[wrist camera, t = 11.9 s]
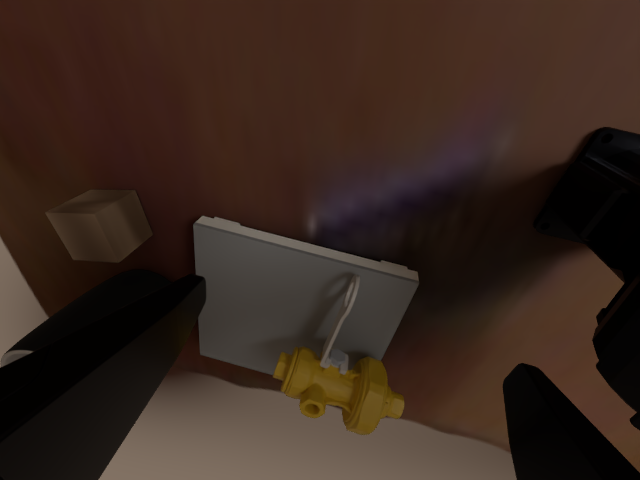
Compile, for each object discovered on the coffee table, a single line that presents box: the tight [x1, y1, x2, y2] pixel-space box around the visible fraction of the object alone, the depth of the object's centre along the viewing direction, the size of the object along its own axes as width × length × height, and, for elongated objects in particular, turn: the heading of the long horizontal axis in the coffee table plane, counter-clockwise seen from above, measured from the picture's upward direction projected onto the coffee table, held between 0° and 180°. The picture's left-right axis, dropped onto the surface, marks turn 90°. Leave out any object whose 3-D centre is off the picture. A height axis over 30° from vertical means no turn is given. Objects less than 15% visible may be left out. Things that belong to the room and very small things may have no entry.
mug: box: [1, 270, 171, 367], centre depth 26 cm, size 12×9×10 cm
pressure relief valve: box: [273, 274, 404, 435], centre depth 22 cm, size 6×12×10 cm
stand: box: [193, 216, 419, 375], centre depth 26 cm, size 16×15×2 cm
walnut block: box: [45, 190, 153, 263], centre depth 24 cm, size 4×4×4 cm
